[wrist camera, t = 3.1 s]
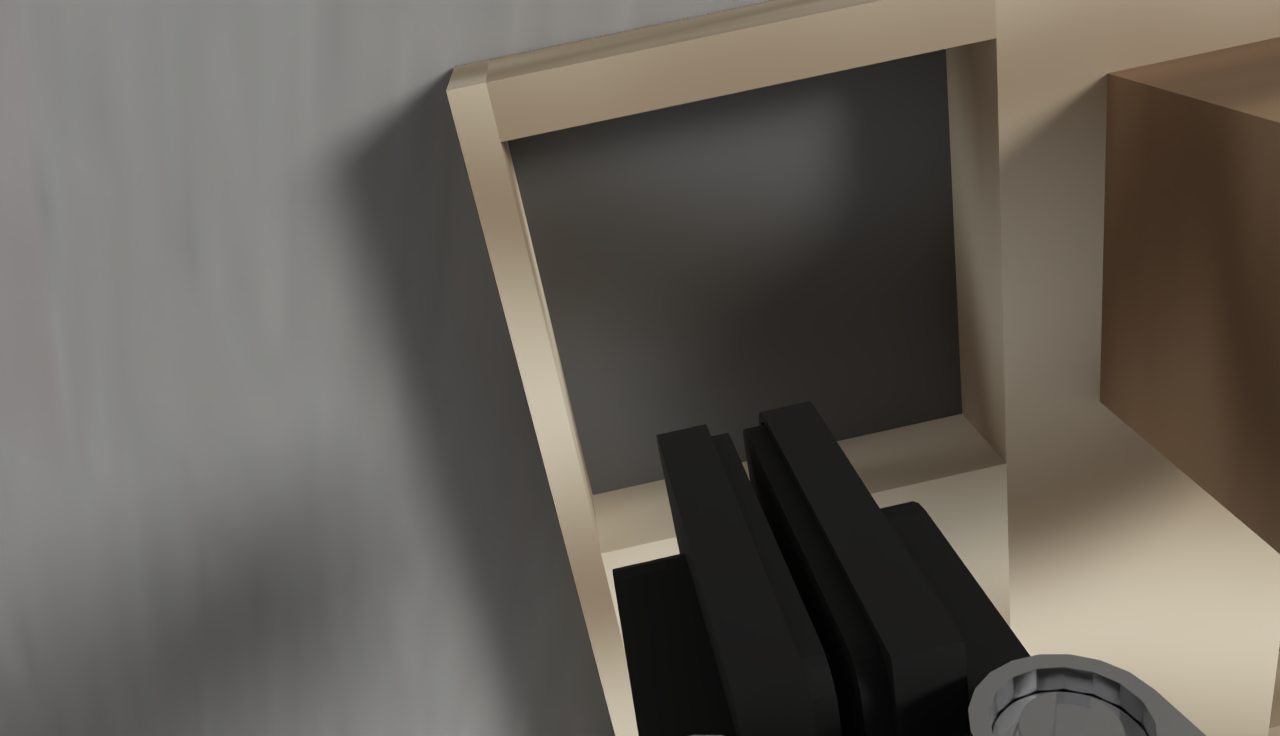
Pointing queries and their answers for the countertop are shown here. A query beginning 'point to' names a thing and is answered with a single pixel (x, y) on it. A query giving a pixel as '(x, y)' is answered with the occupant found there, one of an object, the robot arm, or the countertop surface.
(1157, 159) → the walnut block
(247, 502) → the countertop surface
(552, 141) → the trap board
